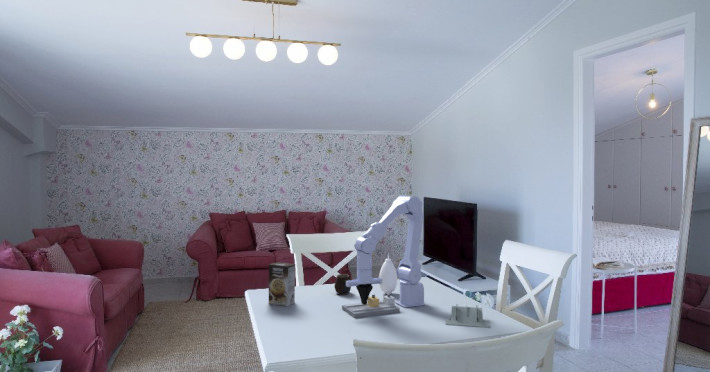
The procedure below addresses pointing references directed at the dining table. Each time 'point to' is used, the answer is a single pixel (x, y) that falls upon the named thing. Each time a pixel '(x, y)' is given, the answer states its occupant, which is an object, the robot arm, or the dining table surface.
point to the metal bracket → (467, 317)
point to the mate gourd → (342, 284)
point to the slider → (373, 301)
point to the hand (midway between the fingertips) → (364, 303)
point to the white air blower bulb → (388, 276)
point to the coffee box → (281, 283)
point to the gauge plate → (372, 308)
